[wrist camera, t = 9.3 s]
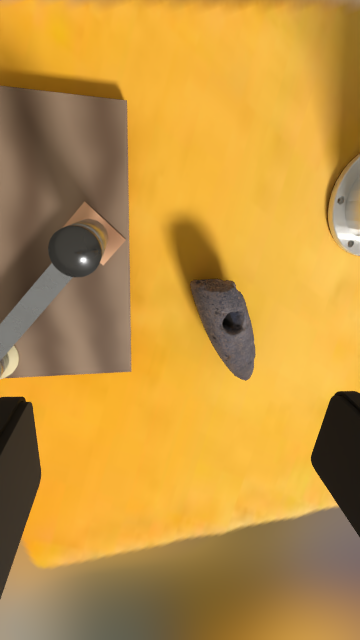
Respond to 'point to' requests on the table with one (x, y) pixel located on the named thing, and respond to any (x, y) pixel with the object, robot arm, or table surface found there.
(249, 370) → the perforated stone tool
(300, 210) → the table surface
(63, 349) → the board
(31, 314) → the press lever
